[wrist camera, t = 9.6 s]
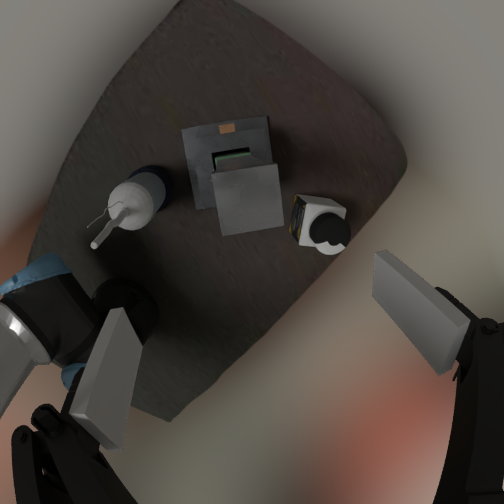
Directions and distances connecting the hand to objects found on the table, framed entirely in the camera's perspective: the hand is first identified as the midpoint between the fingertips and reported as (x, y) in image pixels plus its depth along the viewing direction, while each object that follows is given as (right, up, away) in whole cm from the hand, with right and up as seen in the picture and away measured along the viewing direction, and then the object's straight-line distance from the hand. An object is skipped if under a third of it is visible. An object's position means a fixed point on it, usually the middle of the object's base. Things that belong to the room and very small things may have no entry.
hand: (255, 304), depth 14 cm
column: (-3, +15, +25) cm, 30 cm away
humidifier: (-18, +13, +32) cm, 39 cm away
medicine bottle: (+11, +9, +38) cm, 40 cm away
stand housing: (-4, +18, +32) cm, 36 cm away
